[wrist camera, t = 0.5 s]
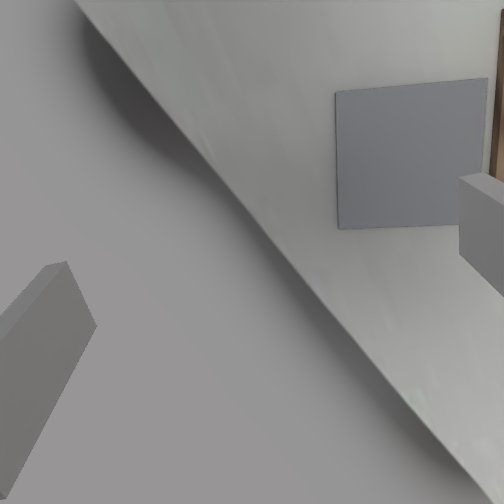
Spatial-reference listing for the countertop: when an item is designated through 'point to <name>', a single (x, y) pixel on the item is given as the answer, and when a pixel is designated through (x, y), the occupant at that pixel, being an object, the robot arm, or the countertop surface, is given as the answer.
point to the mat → (407, 152)
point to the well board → (499, 115)
